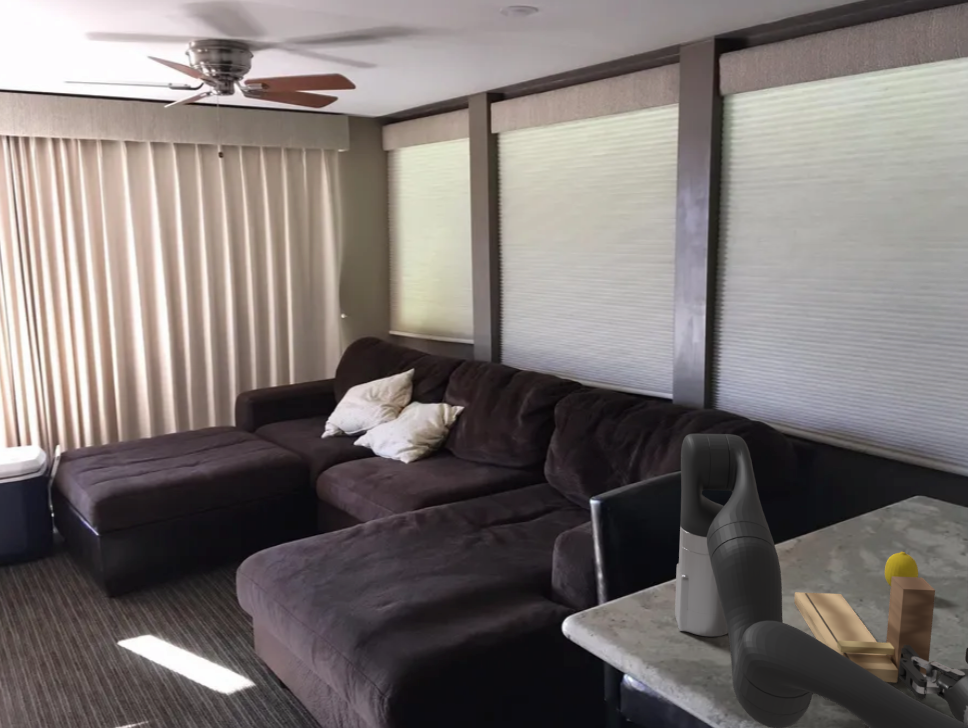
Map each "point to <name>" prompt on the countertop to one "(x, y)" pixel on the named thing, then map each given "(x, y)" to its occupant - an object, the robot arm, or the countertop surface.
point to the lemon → (900, 566)
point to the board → (842, 630)
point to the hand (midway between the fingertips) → (936, 652)
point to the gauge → (903, 622)
